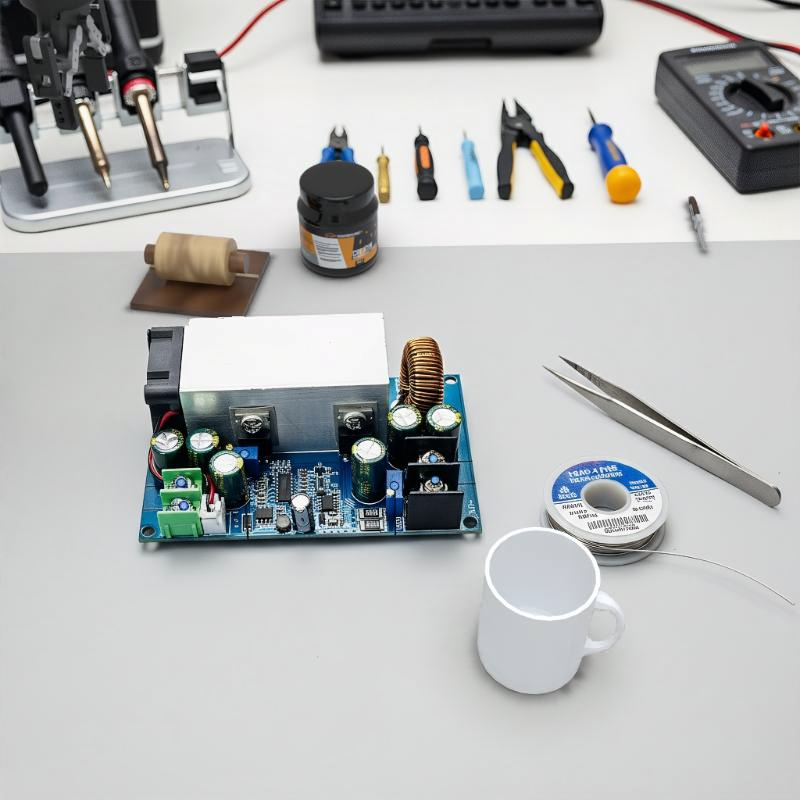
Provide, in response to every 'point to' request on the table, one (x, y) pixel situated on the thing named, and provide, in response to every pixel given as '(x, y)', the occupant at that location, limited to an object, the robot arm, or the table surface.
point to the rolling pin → (196, 258)
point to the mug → (540, 610)
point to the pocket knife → (696, 218)
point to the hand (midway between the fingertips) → (84, 109)
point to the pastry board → (202, 292)
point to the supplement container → (338, 218)
